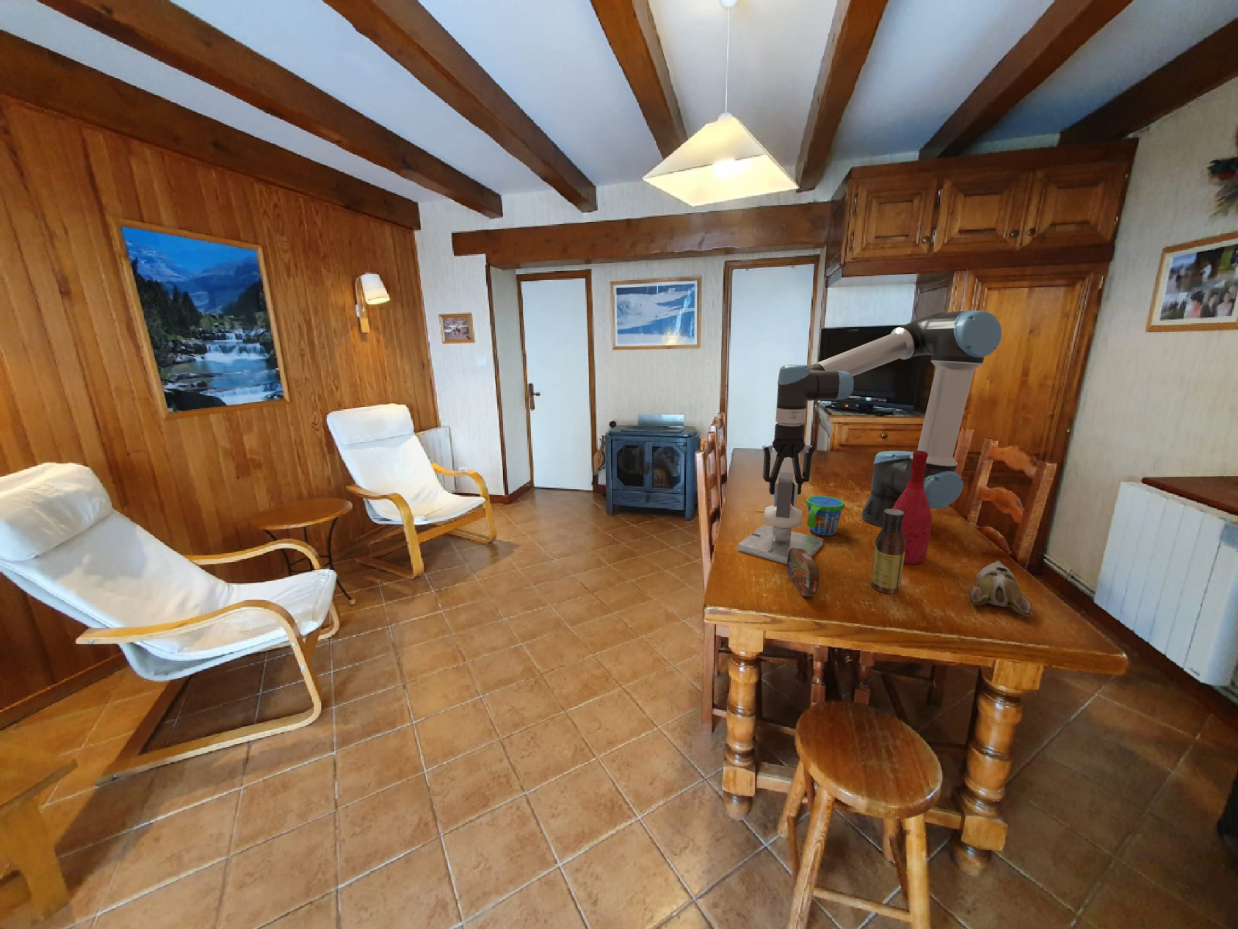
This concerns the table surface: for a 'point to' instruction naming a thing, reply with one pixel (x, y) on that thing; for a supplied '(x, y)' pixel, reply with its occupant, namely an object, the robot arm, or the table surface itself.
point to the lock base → (779, 549)
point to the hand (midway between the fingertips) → (783, 504)
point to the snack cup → (824, 514)
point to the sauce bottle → (889, 553)
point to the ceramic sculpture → (999, 589)
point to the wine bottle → (915, 512)
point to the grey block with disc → (783, 506)
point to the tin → (803, 572)
